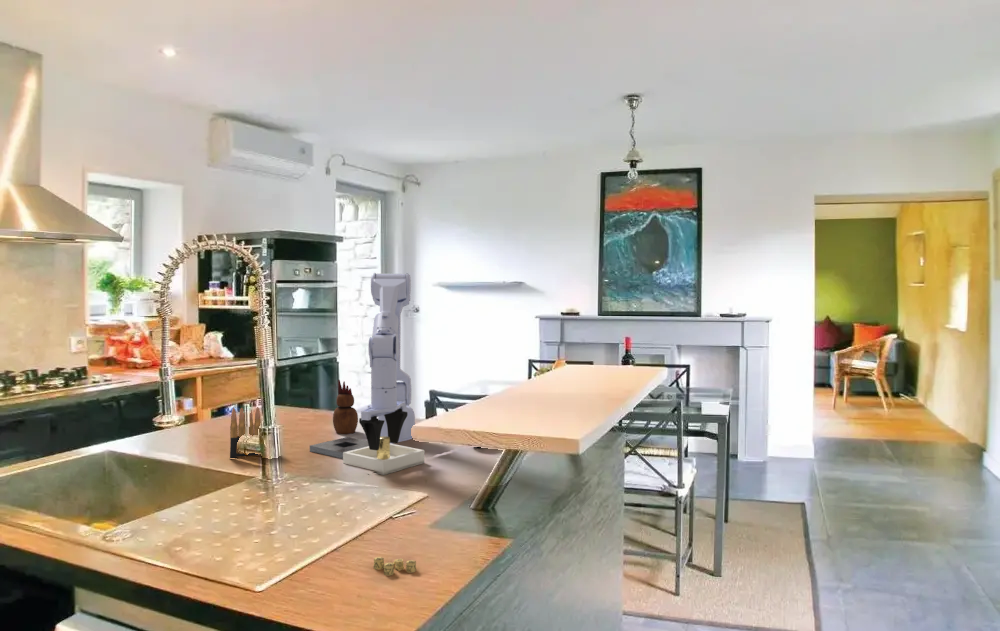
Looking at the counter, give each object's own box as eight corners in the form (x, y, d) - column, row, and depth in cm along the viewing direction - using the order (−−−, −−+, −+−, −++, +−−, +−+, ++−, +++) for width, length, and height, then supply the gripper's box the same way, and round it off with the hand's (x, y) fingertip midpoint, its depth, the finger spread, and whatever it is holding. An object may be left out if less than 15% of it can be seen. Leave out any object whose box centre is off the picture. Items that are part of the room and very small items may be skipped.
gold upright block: (382, 459, 165) (382, 435, 165) (392, 460, 164) (392, 437, 164) (374, 462, 163) (373, 438, 162) (384, 463, 161) (384, 439, 161)
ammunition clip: (277, 454, 172) (277, 405, 171) (277, 456, 170) (277, 406, 170) (230, 457, 169) (229, 407, 168) (229, 459, 167) (229, 408, 166)
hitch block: (347, 444, 182) (347, 437, 182) (380, 451, 175) (380, 443, 175) (309, 453, 173) (309, 445, 173) (342, 461, 166) (342, 452, 166)
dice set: (417, 575, 103) (417, 562, 103) (384, 583, 101) (384, 570, 101) (403, 563, 108) (403, 551, 108) (371, 570, 105) (371, 557, 105)
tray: (384, 454, 172) (384, 442, 172) (424, 462, 164) (424, 450, 164) (343, 465, 162) (343, 452, 162) (383, 475, 154) (383, 461, 154)
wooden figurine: (328, 434, 194) (328, 379, 194) (344, 430, 199) (344, 377, 198) (346, 437, 190) (345, 382, 190) (361, 434, 195) (361, 379, 194)
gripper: (387, 381, 171) (387, 438, 171) (349, 390, 158) (350, 450, 158) (412, 383, 167) (412, 441, 168) (376, 392, 154) (376, 454, 155)
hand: (384, 446), depth 163 cm, fingers open, 7 cm apart
